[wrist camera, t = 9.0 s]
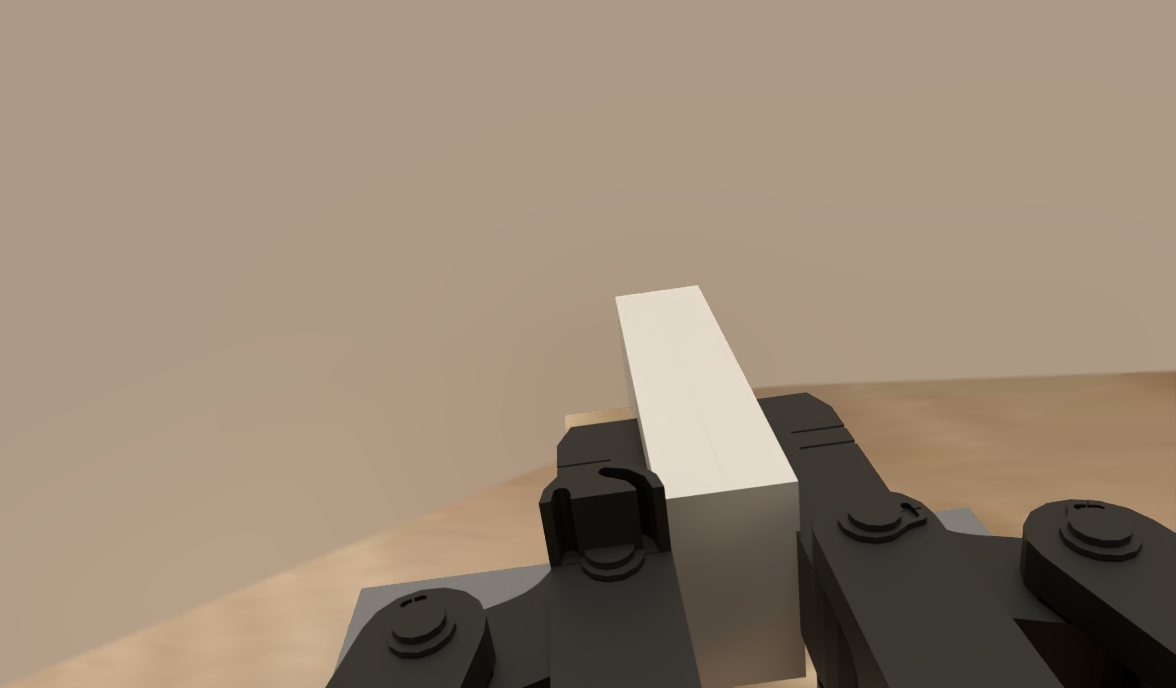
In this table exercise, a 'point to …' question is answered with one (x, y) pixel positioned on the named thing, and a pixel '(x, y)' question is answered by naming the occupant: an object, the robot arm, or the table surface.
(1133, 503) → the table surface
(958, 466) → the table surface
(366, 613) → the felt mat
